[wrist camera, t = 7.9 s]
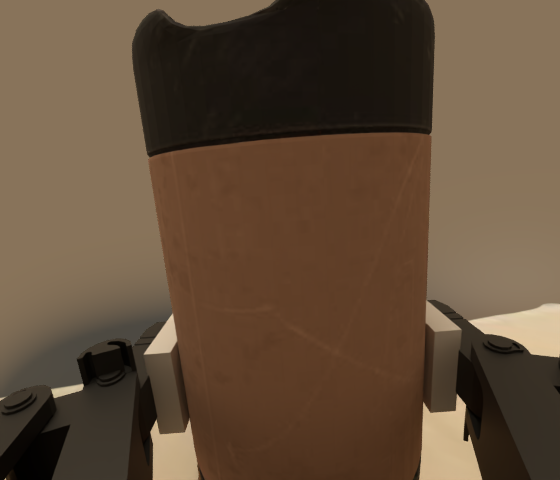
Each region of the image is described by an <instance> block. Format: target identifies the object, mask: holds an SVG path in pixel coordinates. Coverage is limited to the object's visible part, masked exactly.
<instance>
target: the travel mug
mask: <svg viewBox="0 0 560 480" xmlns="http://www.w3.org/2000/svg"><path fill="white" fill-rule="evenodd" d="M434 39H435V33H434V20H433V16H432V13H431V10H430V8H429V5H428V4H427V3H426V1H425V0H276V1H274V2H273V3H272V4H271V5H270V6H269V7H267V8H264V9H262V10H260V11H258V12H256V13H253V14H251V15H249V16H245V17H242V18H239V19H235V20H232V21H228V22H223V23H218V24H212V25H206V26H185V25H183V24H180V23H177V22H175V21H174V20H173V19H172V18H171V17H169V16H168V15H167V14H166V13H165V12H164V11H163V10H160V9H157V10H155V11H153V12H151V13H149V14H148V15H147V16H146V17H145V18H144V19H143V20H142V22H141V23H140V25H139V27H138V28H137V30H136V33H135V36H134V39H133V43H132V59H133V70H134V76H135V82H136V88H137V95H138V101H139V107H140V112H141V119H142V125H143V132H144V138H145V143H146V150H147V154H148V156H149V157H150V158H149V159H148V160H149V161H148V162H149V169H150V174H151V181H152V187H153V193H154V199H155V206H156V212H157V218H158V224H159V230H160V237H161V242H162V249H163V254H164V261H165V267H166V273H167V280H168V286H169V292H170V298H171V305H172V311H173V317H174V323H175V329H176V336H177V342H178V348H179V354H180V360H181V367H182V373H183V379H184V385H185V391H186V398H187V404H188V410H189V416H190V422H191V429H192V435H193V441H194V447H195V452H196V457H197V462H198V467H199V472H200V476H201V480H419V475H420V464H421V450H422V421H423V389H424V357H425V326H426V293H427V292H426V291H427V261H428V230H429V198H430V165H431V136H430V135H429V134H430V133H431V131H432V105H433V74H434V73H433V72H434V42H435V41H434Z"/></svg>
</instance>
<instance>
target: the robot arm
mask: <svg viewBox="0 0 560 480" xmlns="http://www.w3.org/2000/svg"><path fill="white" fill-rule="evenodd" d="M77 362H78V365H79V369H80V373H81V377H82V380H83V384H84V387H83V390H82V391H79V392H75V393H72V394H68V395H64V396H61V397H57V398H54V397H53V394H52V391H51V388H50V387H48V386H46V385H39V386H33V387H29V388H24V389H21V390H20V391H17V392H14V393H12V394H11V395H10V396H8V397H6V398H4V399H3V400H1V401H0V480H4V479H5V478H6V480H153V443H152V438H151V433H150V431H151V429H152V427H153V425H154V423H155V421H156V419H157V423H158V428H159V433H160V434H169V433H181V432H185V430H186V427H187V424H188V421H189V419H190V416H189V410H188V404H187V398H186V391H185V385H184V379H183V373H182V367H181V360H180V354H179V348H178V342H177V336H176V329H175V323H174V317H173V314H172V315H171V317H170V318H169V320H168V321H167V322H157V323H156V324H154V325H153V326H151V327H150V328H148V329H147V330H146V331H145V332H144V333H143V335H142V336H141V337H140V339H139V340H138V341H137V342H136V343H135V346H133V347H132V345H131V342H130V341H129V340H127V339H112V340H107V341H104V342H101V343H98V344H96V345H94V346H92V347H90V348H88V349H87V350H85V351H84V352H83V353H81V355H80V356H79V357H78V358H77ZM457 394H458V395H459V397H460V398H461V399H462V400H463V402H464V403H465V404H466V412H465V424H464V441H468V435H469V434H470V437H471V441H472V444H473V448H474V451H475V455H476V458H477V462H478V465H479V469H480V472H481V476H482V480H560V356H559V358H558V357H549V356H540V355H532V354H530V352H529V351H528V350H527V349H526V348H525V347H524V346H523V345H521V344H519V343H518V342H516V341H514V340H511V339H509V338H506V337H503V336H497V335H492V334H484V333H483V332H481V331H480V330H479V329H477V328H476V327H475V326H473V325H472V324H471V323H470V322H468V321H467V320H466V319H463V317H462V316H460V315H459V314H457V313H456V312H455V311H454V310H453V309H451V308H450V307H449V306H447V305H445V304H443V303H440V302H438V301H436V300H426V326H425V357H424V389H423V402H424V403H425V405H426V406H427V408H428V409H429V411H430V413H434V412H447V411H456V398H457Z"/></svg>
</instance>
